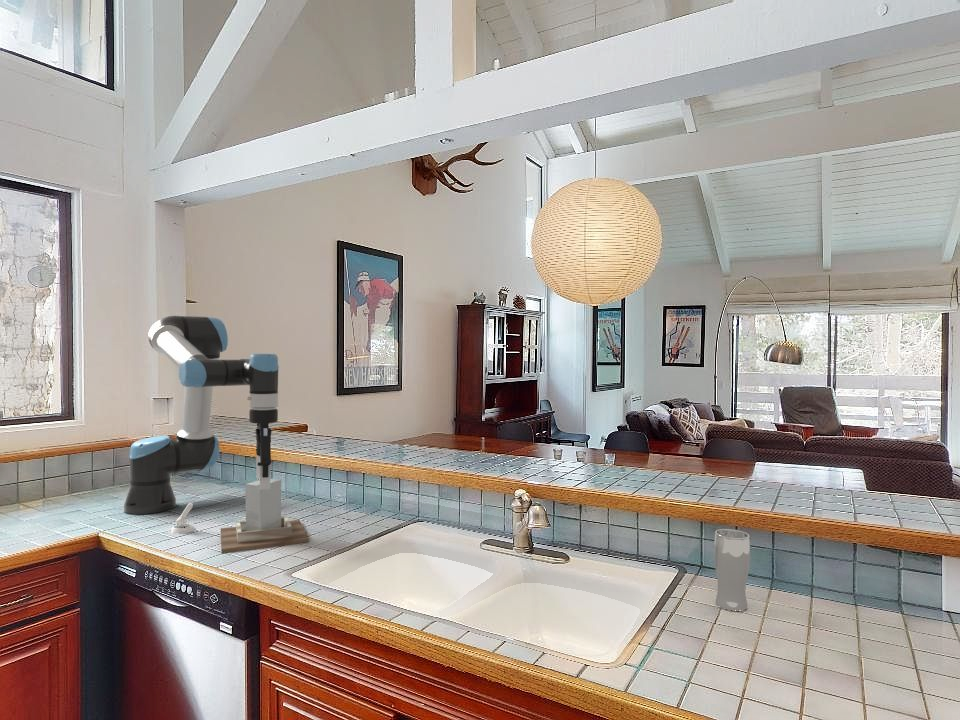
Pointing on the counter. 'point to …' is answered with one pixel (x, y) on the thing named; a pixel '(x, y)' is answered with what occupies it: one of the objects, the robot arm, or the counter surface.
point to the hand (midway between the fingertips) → (262, 483)
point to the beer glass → (731, 568)
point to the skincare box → (263, 506)
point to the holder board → (262, 536)
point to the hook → (183, 522)
